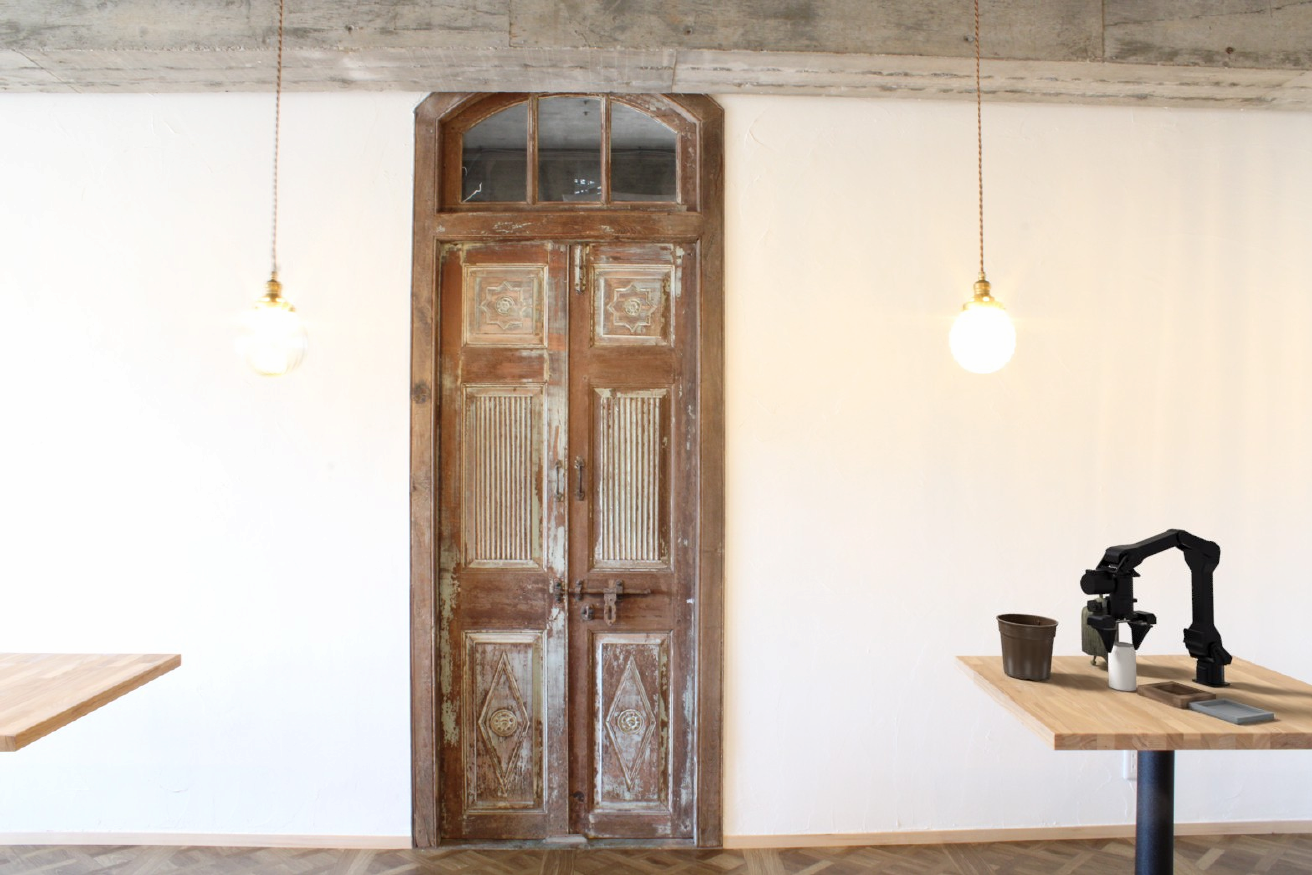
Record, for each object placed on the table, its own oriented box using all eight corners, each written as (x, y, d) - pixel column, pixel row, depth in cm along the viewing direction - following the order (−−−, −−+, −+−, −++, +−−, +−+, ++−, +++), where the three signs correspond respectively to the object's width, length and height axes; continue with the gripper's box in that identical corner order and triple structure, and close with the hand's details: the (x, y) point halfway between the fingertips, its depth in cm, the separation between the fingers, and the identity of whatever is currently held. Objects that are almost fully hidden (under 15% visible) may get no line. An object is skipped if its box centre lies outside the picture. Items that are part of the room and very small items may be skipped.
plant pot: (1070, 677, 220) (1069, 620, 220) (1039, 687, 211) (1038, 627, 211) (1016, 664, 233) (1015, 611, 234) (985, 673, 224) (984, 617, 225)
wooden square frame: (1172, 690, 207) (1171, 681, 208) (1216, 704, 196) (1216, 694, 196) (1137, 694, 204) (1137, 685, 204) (1180, 708, 192) (1180, 698, 192)
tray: (1223, 703, 196) (1223, 698, 196) (1274, 719, 185) (1273, 713, 185) (1188, 708, 193) (1188, 702, 193) (1237, 724, 181) (1237, 718, 181)
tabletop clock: (1117, 674, 223) (1115, 587, 223) (1081, 669, 228) (1080, 584, 228) (1119, 662, 235) (1118, 580, 236) (1085, 658, 240) (1084, 578, 241)
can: (1140, 692, 206) (1139, 647, 206) (1113, 691, 207) (1113, 646, 207) (1130, 685, 212) (1130, 641, 212) (1105, 684, 213) (1104, 640, 214)
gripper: (1121, 586, 220) (1122, 641, 220) (1069, 590, 215) (1071, 647, 215) (1157, 593, 210) (1158, 651, 209) (1104, 597, 204) (1105, 657, 204)
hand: (1122, 651), depth 210 cm, fingers open, 9 cm apart
